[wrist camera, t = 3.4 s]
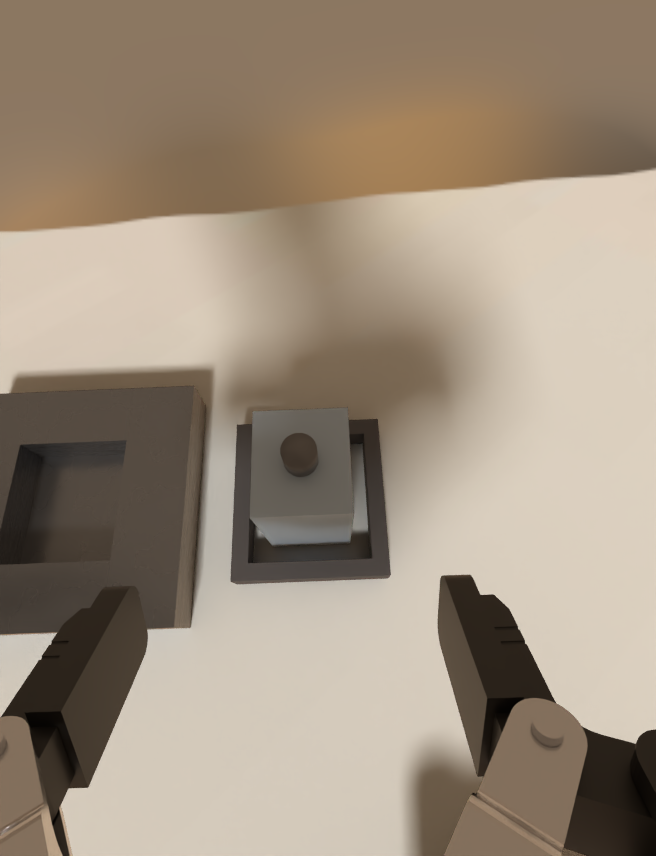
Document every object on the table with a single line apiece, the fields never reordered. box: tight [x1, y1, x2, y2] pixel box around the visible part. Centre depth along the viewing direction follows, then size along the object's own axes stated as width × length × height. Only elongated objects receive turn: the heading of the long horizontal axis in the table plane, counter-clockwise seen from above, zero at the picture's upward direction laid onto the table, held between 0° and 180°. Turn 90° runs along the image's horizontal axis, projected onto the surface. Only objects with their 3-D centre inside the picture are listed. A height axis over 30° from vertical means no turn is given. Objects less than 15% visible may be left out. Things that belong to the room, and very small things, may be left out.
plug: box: [250, 408, 354, 547], centre depth 22 cm, size 4×4×8 cm
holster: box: [231, 419, 391, 584], centre depth 25 cm, size 8×8×2 cm
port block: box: [0, 386, 206, 635], centre depth 24 cm, size 12×12×2 cm
